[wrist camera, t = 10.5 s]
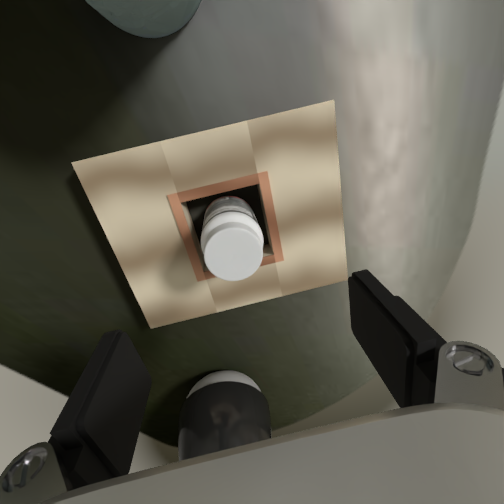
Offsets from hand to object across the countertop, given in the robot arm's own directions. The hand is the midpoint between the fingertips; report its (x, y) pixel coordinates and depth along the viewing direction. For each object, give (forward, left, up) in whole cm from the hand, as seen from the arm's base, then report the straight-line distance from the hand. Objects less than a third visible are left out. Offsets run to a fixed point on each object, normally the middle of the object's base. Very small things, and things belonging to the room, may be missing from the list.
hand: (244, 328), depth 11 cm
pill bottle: (0, 0, -16) cm, 16 cm away
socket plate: (0, 0, -16) cm, 16 cm away
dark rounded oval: (+21, -6, -16) cm, 28 cm away
